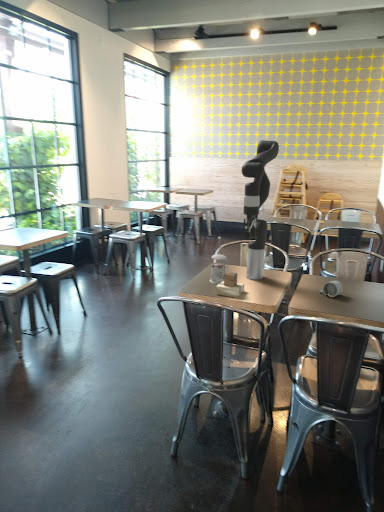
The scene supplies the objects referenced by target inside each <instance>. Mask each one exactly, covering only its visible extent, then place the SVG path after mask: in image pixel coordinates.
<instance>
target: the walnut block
mask: <svg viewBox="0 0 384 512" xmlns="http://www.w3.org/2000/svg"><path fill="white" fill-rule="evenodd" d="M237 282H238V273H237V272H235V271H228V270H227V272H226V271H225V274H224V286H230V287H234V286H235V285H237Z"/></svg>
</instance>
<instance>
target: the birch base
mask: <svg viewBox="0 0 384 512" xmlns="http://www.w3.org/2000/svg"><path fill="white" fill-rule="evenodd" d="M244 292H245V283H242V282H238V281H237V285H235V286H234V287H230V286H224V281H222V282H221V283H220V284H216V285H215V295H219V296H225V297H229V298H230V297H231V298H238V297H239V296H240V295H241V294H243V293H244Z"/></svg>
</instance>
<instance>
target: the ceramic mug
mask: <svg viewBox="0 0 384 512" xmlns="http://www.w3.org/2000/svg"><path fill="white" fill-rule="evenodd" d="M318 291H320V292H321V293H320V292H319V293H320V294H322V293H323V294H324V296H326V295H327V294H328V293H329V294H330V295H333V297H332V298H334V297H337V296H338V295H340V294H342V292H343V291H344V286H343V283H342V282H340V280H330V281H328V282H326V283H324V284H323V285H322V288H320V289H318ZM334 295H335V296H334Z"/></svg>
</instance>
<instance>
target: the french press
mask: <svg viewBox="0 0 384 512" xmlns="http://www.w3.org/2000/svg"><path fill="white" fill-rule="evenodd" d="M217 239H218V242H219V243H218V245H220V243H221V242H220V241H221V239H222V237H221V236H218V237H217ZM211 259H212V260H216V261H217V262H212V264H211V266H210V279H209V280H208V282H209V281H210V282H211V283H210V282H209V283H210V284H213V283H214V284H215V285H218V284H220V283H221V282H222V281H224V274H225V273H226V271H228V270H227V269H228V267H229V264H227V263H229V261H228V259H227V256H225V255H224V254H220V253H215V254H213V255H212V256H211ZM220 260H221V261H223V262H220ZM224 262H225V263H224ZM226 265H227V267H226ZM214 284H213V285H214Z"/></svg>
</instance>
